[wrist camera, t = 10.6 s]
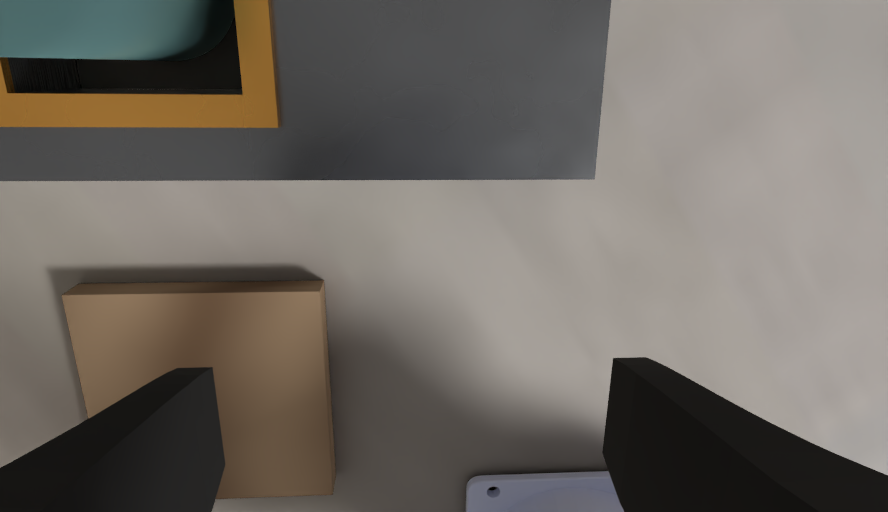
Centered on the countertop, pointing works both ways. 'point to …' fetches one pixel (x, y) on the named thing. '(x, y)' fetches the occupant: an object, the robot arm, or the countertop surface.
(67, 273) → the countertop surface
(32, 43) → the peg
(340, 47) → the grey peg hole board
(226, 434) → the brown square coaster
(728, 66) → the countertop surface
